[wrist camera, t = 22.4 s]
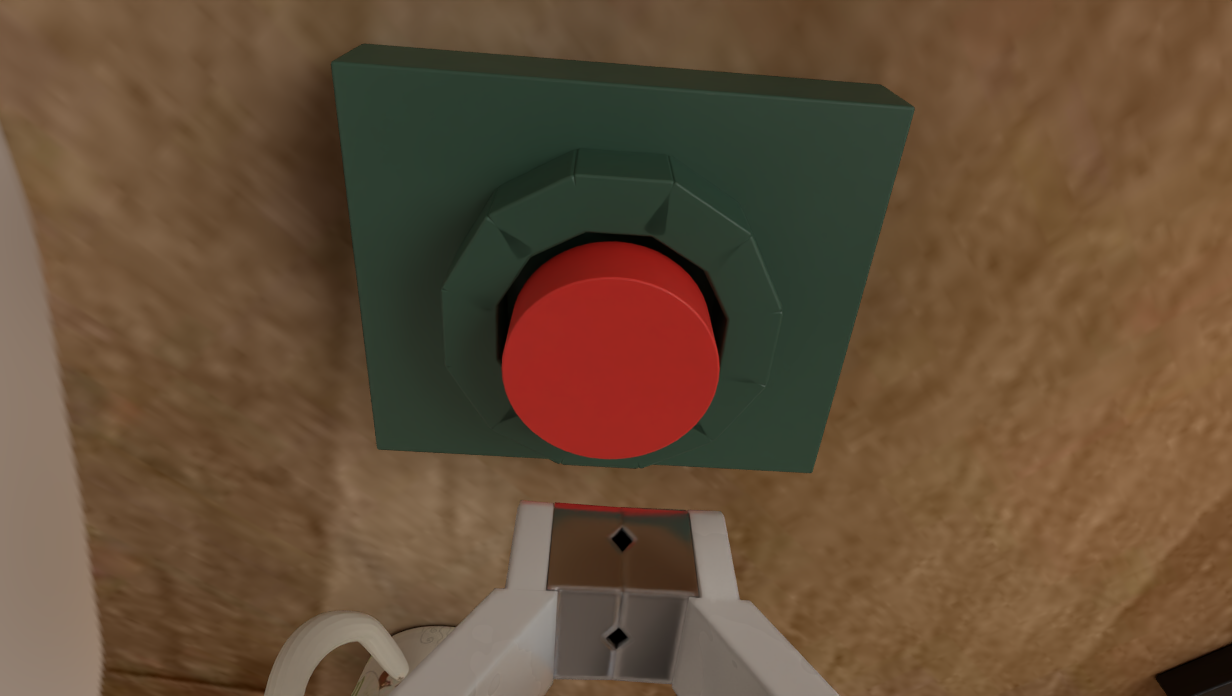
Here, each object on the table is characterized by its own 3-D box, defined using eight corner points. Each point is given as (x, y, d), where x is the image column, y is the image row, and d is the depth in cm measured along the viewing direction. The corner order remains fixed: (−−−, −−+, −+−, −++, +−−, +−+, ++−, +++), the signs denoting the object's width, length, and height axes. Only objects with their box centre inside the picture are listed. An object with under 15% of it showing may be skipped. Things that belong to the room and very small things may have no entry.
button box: (396, 402, 22) (356, 496, 18) (361, 42, 17) (296, 79, 13) (795, 426, 22) (829, 521, 19) (883, 84, 17) (951, 130, 14)
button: (511, 406, 17) (502, 454, 16) (511, 232, 15) (500, 270, 14) (695, 417, 17) (703, 465, 16) (723, 247, 15) (736, 285, 14)
